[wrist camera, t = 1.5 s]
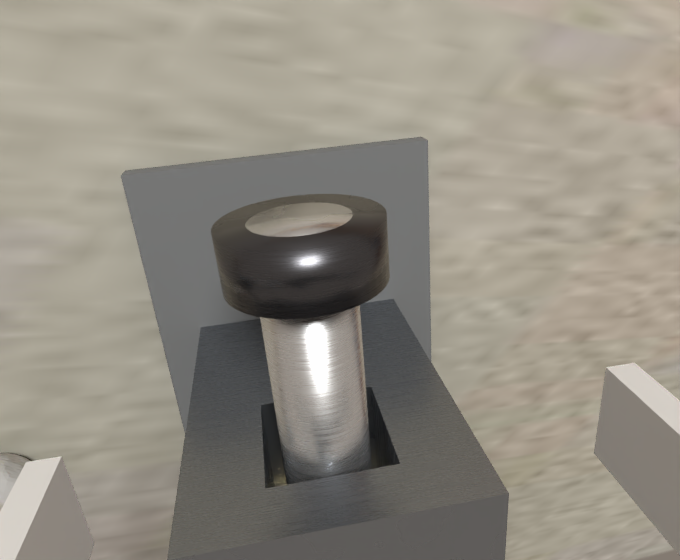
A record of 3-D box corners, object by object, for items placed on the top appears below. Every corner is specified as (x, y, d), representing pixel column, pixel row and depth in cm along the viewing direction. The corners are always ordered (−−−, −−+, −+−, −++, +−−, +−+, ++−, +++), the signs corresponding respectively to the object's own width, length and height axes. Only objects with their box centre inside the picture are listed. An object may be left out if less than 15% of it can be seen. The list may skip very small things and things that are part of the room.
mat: (216, 543, 35) (216, 557, 34) (125, 170, 25) (120, 175, 24) (428, 502, 36) (433, 514, 36) (421, 137, 27) (427, 140, 26)
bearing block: (227, 439, 32) (217, 725, 18) (201, 318, 28) (167, 560, 15) (394, 410, 33) (498, 660, 20) (388, 291, 30) (508, 493, 16)
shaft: (296, 654, 28) (307, 777, 23) (214, 205, 18) (205, 261, 14) (394, 632, 29) (424, 748, 24) (366, 186, 19) (407, 234, 14)
